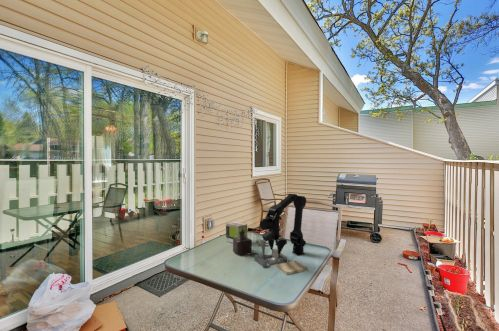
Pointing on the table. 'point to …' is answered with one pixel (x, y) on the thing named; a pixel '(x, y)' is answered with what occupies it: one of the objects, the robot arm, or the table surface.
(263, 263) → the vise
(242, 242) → the potted plant
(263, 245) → the mechanical component
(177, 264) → the table surface
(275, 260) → the brushed metal step block
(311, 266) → the table surface
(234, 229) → the tea box
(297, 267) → the board
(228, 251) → the table surface
